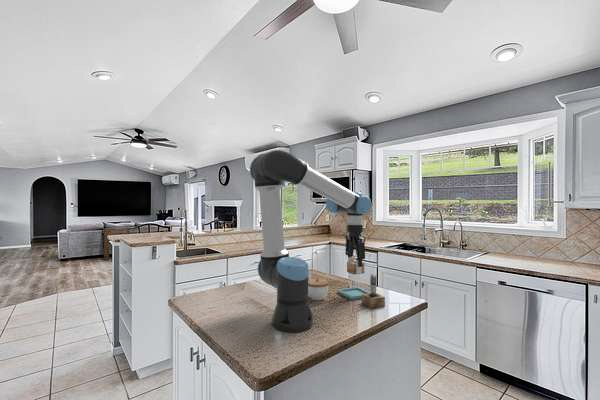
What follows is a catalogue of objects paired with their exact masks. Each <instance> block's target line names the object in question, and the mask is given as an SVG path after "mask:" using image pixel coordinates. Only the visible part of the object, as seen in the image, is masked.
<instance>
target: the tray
mask: <svg viewBox="0 0 600 400" xmlns="http://www.w3.org/2000/svg"><path fill="white" fill-rule="evenodd" d="M337 293H338V294H339V295H341V296H343V297H344V298H346V299H348V300H349V301H354V300H356V301H357V300H362V294H366V293H371V291H367V290H366V289H363V288H361V287H359V286H357V287H347V288H339V289H337Z"/></svg>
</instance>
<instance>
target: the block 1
mask: <svg viewBox="0 0 600 400" xmlns="http://www.w3.org/2000/svg"><path fill="white" fill-rule="evenodd" d="M346 272H347V273H349V274H351V275H357V274H356V260H354V261H349V262H348V261H347V262H346ZM362 274H365V262H363V261H362V273H360V274H359V275H362Z"/></svg>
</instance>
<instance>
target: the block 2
mask: <svg viewBox="0 0 600 400" xmlns="http://www.w3.org/2000/svg"><path fill="white" fill-rule="evenodd" d="M370 294H371V292H370V293H366V294H362V299H361V304H363V305H365V306H366V307H368V308H369V309H377V308H382V307H385V306H386V297H385V296H384V295H381V294H379V293H377V292H376V297H371V296H370Z"/></svg>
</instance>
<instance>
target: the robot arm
mask: <svg viewBox="0 0 600 400" xmlns="http://www.w3.org/2000/svg"><path fill="white" fill-rule="evenodd" d="M249 174H250V177H251V178H252V180H253V181H254V188H255V189H256V190H257V191H258V192H259V206H260V217H261V218H260V220H261V232H262V243H263V250H262V252H261V253H260V254H259V255H260V256H259V257H260V260H259V262H258V264H257V275H258V276H259V278H260V280H262V281H263V282H264V283H265V284H266V285H269V286H271V287H272V288H275V289H276V304H275V307H274V310H273V313H272V317H271V325H272V327H273V328H274V329H276V330H278V331H280V332H281V331H282V332H284V333H299V332H300V333H301V332H303V331H307V330H309V329H311V328H312V327H313V325H314V317H313V313H312V310H311V308H310V304H309V295H308V280H309V274H310V271H309V265H308V262H307V261H306V260H305V259H302V258H299V257H295V256H290V252H289V250H288V249H286V248H285V247H286V246H285V237H284V234H285V233H284V223H283V209H282V208H283V207H282V197H281V190H282V189H283V188H284V182H288V183H290V184H292V185H295V186H298V185H300V186H302V187H304V188H305V189H308V190H309V191H311V192H312V193H313V192H314V193H315V194H318V195H320V197H324V198H325V199H326V201H325V208H326V210H327V212H329V213H333V214H336V213H342V214H343V213H344V214H346V223H347V225H346V231H347V233H348V234H346V235H345V256H347V262H349V261H356V274H355V275H361V274H360V273H362V262H363V260H365V259H366V249H365V248H366V247H365V246H366V245H365V243H366V238H365V237H362V233H363V232H364V230H363V229H364V225H363V222H364V221H363V220H364V219H363V218H364V217H363V215H364V214H365V215H366V214H367V213H369V212H370V211H371V209H372V205H373V204H372V201H371V198H370V197H369V196H367V195H363V194H362V192H354V191H352V190H350V189H348V188H346V187H345V186H342V185H341V184H339V183H337V182H336V181H334V180H333V179H331V178H329V177H327V176H326V175H324V174H322V173H320V172H318V171H316V170H315V169H313V168H312V167H310V166H309V163H308V162H307V161H304V160H303V159H302V158H300V157H297V156H296V155H294V154H293V153H290V152H288V151H284V150H281V149H274V150H271V151H268V152H265V153H260V154H259V155H257V156H256V157H254V159H253V160H252V161H251V163H250V165H249ZM354 250H355V251H354ZM354 252H355V254H356V259H355V255H354Z"/></svg>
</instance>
